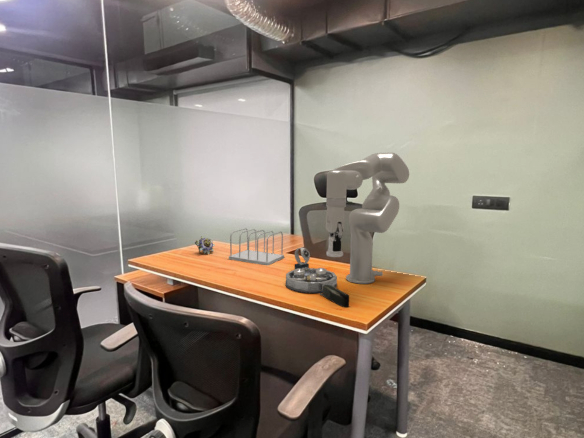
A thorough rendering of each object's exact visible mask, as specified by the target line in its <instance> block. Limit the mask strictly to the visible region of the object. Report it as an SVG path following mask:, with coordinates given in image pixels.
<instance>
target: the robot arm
mask: <svg viewBox="0 0 584 438" xmlns="http://www.w3.org/2000/svg"><path fill="white" fill-rule="evenodd" d="M409 170H410V169H409V167H408V166H407V164H406V163H405V161H404V160H403V159H402V157H400V155H398V154H397V153H395V152H375V153H374V152H373V153H371V154H370V155H368V156H366V157H364V158H362V159H360V160H358V161H353V162H350V163H347V164H343V165H340V166H338V167H335V168H333V169H331V170H329V171H328V172H327V175H326V199H325V200H326V202H325V203H326V204H325V207H326V208H327V209H326V214H325V215H326V217H325V230H326V231H327V232H328V237H329V236H331V235H334V241H333V251H334V252H335V251H342V241H343V239H342V238H343V234H344V232H345V208H347V190H350V191H351V190H352V191H353V190H357V189H359V188H360V187H361V186H362V184H363V181H364V180H369V179H371V178H372V181H371V182H372V189H371V191H370V192H369V194H368V195H367V196H366V197H365V199H364V200H363V203H362V205H361V207H362V208H356V209H353V210H352V211H351V212H350V213H349V216H348V223H349V227H350V228H349V230H350V252H349V253H350V254H349V255H350V256H349V260H350V261H349V274H347V275H345V279H346V280H347V281H348V282H350V283H353V284H361V285H362V284H363V285H367V284H373V283H374V282H376V277H383V274H384V273H383V271H378V270H373V251H374V250H373V247H374V241H373V237H372V235H371V233H379V234H383V233H386V232H387V231H388V230H389V228H390V227H391V225H392V224H393V222H394V221H395V219H396V217H397V215H398V213H399V210H400V200H399V199H398V197H396V196H394V195H391V191H390V189H389V188H388V186H387V185H386V184H405V183H406V182H407V181H409V179H410V171H409ZM336 235H337V236H336Z"/></svg>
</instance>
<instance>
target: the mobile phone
mask: <svg viewBox="0 0 584 438" xmlns="http://www.w3.org/2000/svg"><path fill="white" fill-rule="evenodd" d="M319 295H320V296H321V297H324V298H326V299H327V300H329V301H331V302H333V303H335V304H336V305H338V306H340V307H342V308H348V307H350V295H349V294H348V293H346V292H345V291H342V290H341V289H338V288H337V287H336V288H335V287H333V286H331V285H324V286H323V293H319Z"/></svg>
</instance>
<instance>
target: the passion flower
mask: <svg viewBox="0 0 584 438" xmlns="http://www.w3.org/2000/svg"><path fill="white" fill-rule="evenodd" d="M194 244H195V245H196V246H197V248H198V251H199V252H201V251H202V253H203V254H204V255H205V254H207V255H208V254H209V255H210V252H214V247H215V246H216V245H215V243H214V242H213V241H212V240H211V239H209V237H204V236H200V239H199V240H195V242H194Z"/></svg>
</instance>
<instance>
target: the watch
mask: <svg viewBox="0 0 584 438" xmlns="http://www.w3.org/2000/svg"><path fill="white" fill-rule="evenodd" d="M299 250H300V251H299ZM299 252H300V254H301V257H302V258H303V260H304V262H303V261H301V258H300V254H299ZM294 258H295V261H296V262H297V263H294V269H297V268H301V269H302V268H310V264H309V263H308V262H309V261H310V258H311V253H310V251H309V250H308V249H307V248H306V247H298V248H296V249H295V251H294Z"/></svg>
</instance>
